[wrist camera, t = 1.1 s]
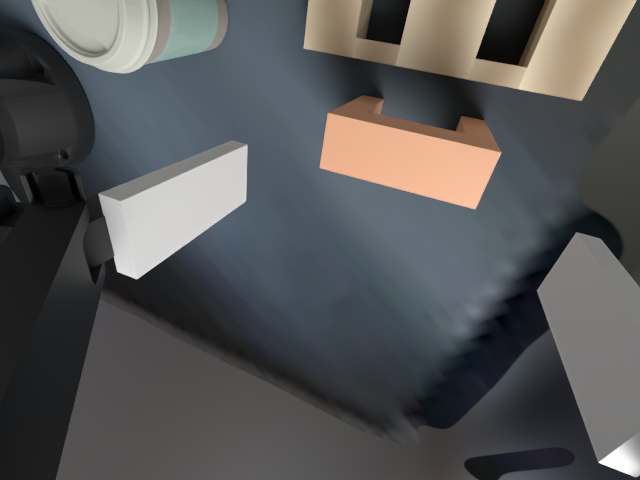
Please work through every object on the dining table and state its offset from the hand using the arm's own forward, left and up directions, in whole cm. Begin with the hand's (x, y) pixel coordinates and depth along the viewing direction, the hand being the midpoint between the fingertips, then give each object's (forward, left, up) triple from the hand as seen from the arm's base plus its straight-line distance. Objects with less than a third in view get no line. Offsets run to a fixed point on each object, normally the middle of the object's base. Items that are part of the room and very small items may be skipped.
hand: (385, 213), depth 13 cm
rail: (0, +9, -18) cm, 20 cm away
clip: (0, 0, -18) cm, 18 cm away
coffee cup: (-21, +6, -18) cm, 28 cm away
